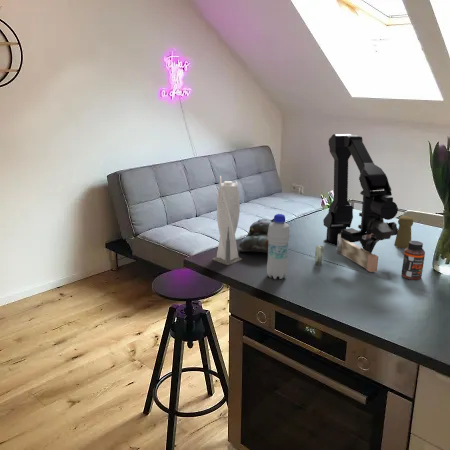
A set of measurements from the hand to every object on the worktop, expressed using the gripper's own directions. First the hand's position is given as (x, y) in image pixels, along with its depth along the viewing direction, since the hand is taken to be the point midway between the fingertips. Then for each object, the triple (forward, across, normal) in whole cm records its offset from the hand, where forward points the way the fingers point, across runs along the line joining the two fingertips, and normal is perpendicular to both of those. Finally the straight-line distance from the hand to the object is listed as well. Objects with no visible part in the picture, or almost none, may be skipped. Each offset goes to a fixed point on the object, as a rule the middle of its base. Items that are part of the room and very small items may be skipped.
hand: (367, 256), depth 166 cm
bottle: (+2, -32, +2) cm, 33 cm away
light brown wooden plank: (+2, -3, +2) cm, 4 cm away
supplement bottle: (+3, +6, -14) cm, 15 cm away
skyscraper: (+2, -41, +22) cm, 46 cm away
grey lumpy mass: (+2, -28, +24) cm, 37 cm away
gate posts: (+2, -8, +9) cm, 13 cm away
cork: (+3, +24, +10) cm, 26 cm away
